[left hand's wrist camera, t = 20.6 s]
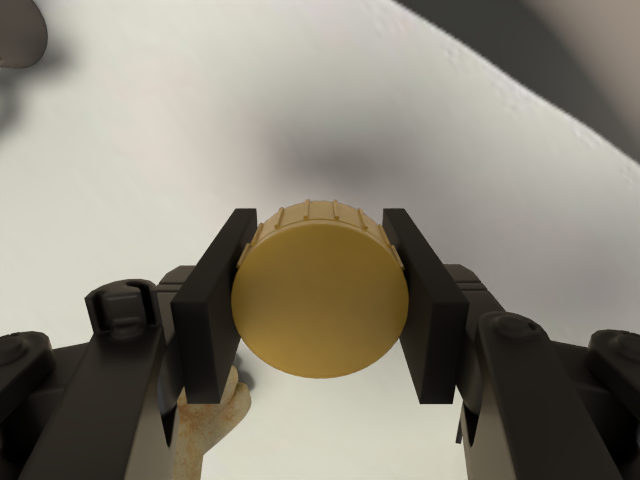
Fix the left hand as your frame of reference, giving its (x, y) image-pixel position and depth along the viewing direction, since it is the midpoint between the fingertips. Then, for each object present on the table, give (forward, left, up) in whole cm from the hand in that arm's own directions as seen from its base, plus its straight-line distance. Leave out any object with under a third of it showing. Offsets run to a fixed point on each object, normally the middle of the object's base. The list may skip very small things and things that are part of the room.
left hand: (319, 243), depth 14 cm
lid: (0, 0, +4) cm, 4 cm away
